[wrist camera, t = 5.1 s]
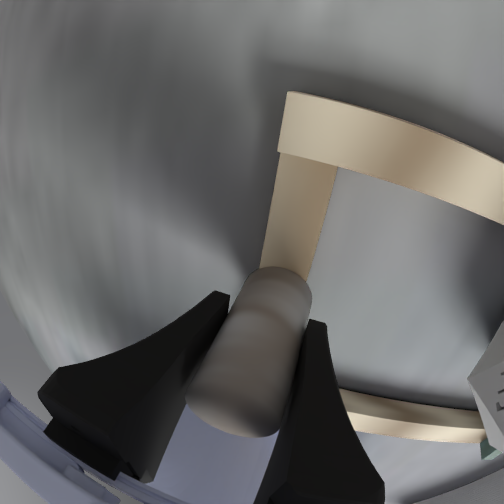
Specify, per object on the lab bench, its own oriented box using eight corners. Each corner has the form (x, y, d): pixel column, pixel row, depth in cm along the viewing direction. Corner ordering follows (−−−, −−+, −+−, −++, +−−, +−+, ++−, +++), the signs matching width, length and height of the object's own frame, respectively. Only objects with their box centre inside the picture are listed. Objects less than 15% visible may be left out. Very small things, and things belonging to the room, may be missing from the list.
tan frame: (232, 377, 19) (190, 468, 13) (281, 88, 10) (192, 92, 4) (488, 427, 15) (494, 503, 10) (624, 245, 6) (682, 322, 1)
